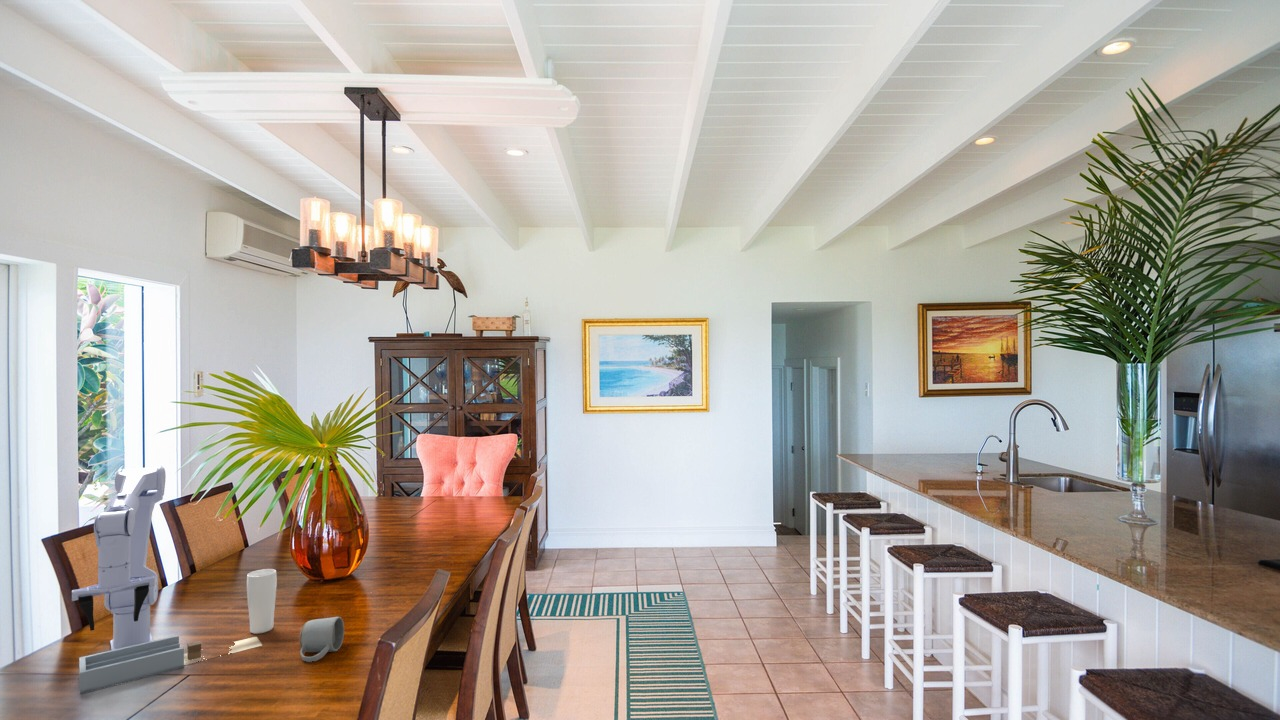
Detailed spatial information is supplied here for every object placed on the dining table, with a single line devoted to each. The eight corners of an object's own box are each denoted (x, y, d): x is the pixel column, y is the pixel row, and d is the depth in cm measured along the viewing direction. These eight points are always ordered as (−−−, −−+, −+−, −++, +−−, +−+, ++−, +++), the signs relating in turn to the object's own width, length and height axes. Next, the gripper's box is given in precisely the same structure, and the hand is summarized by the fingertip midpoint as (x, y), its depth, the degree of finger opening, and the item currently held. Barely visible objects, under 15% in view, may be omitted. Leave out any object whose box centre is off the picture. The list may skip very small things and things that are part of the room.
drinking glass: (243, 630, 169) (243, 572, 169) (272, 623, 173) (272, 566, 173) (250, 637, 164) (250, 578, 164) (280, 630, 168) (280, 572, 169)
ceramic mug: (310, 644, 160) (310, 613, 159) (345, 642, 160) (344, 611, 160) (291, 664, 149) (290, 631, 149) (328, 662, 150) (327, 629, 150)
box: (79, 677, 143) (79, 657, 143) (178, 653, 155) (178, 634, 155) (79, 694, 136) (79, 673, 136) (183, 667, 148) (183, 648, 148)
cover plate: (179, 657, 154) (179, 641, 154) (256, 638, 165) (256, 623, 165) (183, 668, 149) (183, 651, 149) (262, 647, 159) (262, 632, 159)
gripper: (72, 575, 139) (71, 638, 139) (156, 561, 148) (155, 621, 148) (71, 568, 144) (71, 629, 144) (153, 555, 154) (152, 612, 154)
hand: (114, 624), depth 146 cm, fingers open, 7 cm apart
